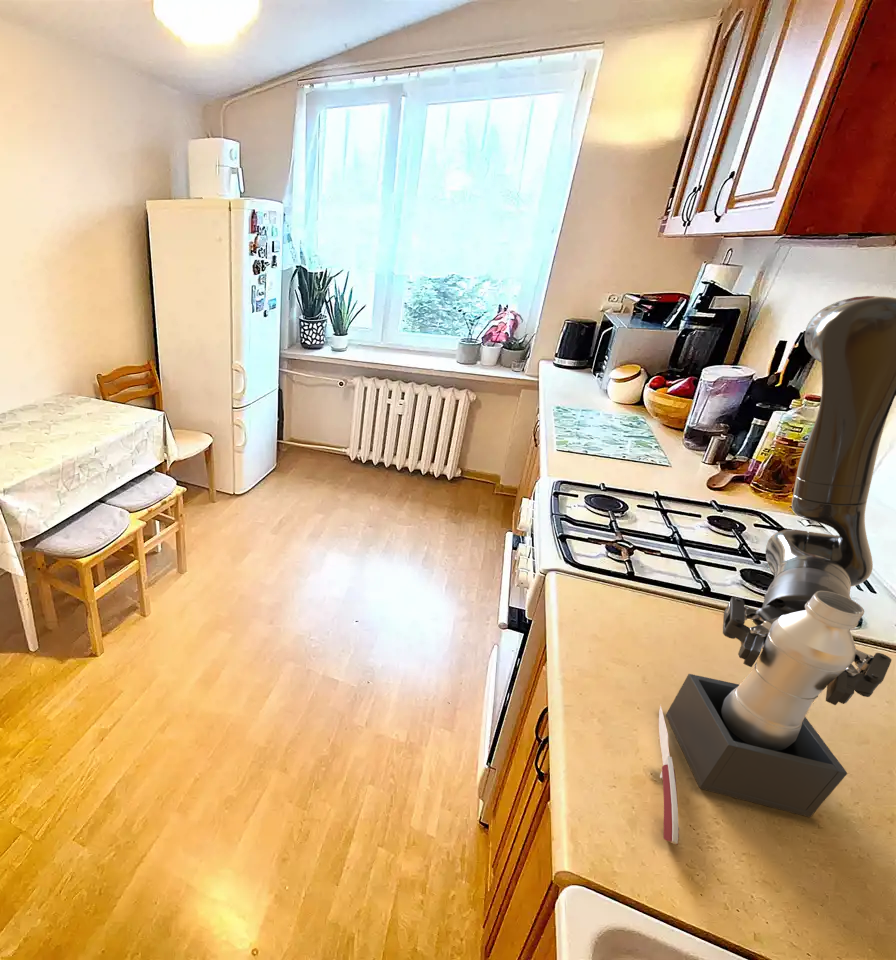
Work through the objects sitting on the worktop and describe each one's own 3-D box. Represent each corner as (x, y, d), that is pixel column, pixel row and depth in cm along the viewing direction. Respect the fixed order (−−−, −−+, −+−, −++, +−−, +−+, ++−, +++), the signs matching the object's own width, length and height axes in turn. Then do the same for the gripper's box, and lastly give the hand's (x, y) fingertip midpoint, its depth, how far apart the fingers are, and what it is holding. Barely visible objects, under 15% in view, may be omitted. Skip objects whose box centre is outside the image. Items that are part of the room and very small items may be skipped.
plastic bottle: (733, 751, 59) (825, 619, 50) (703, 703, 65) (780, 577, 56) (799, 765, 58) (906, 631, 49) (763, 715, 64) (852, 587, 55)
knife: (676, 856, 54) (687, 839, 53) (661, 849, 55) (672, 832, 53) (660, 715, 70) (669, 699, 68) (649, 710, 70) (657, 695, 69)
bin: (759, 737, 67) (789, 694, 63) (810, 817, 58) (848, 773, 54) (665, 715, 70) (688, 673, 66) (699, 788, 61) (728, 744, 57)
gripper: (746, 557, 68) (722, 616, 58) (909, 614, 59) (914, 695, 49) (721, 601, 72) (694, 664, 62) (871, 662, 62) (869, 747, 52)
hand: (792, 677), depth 55 cm, fingers closed on plastic bottle, 6 cm apart
